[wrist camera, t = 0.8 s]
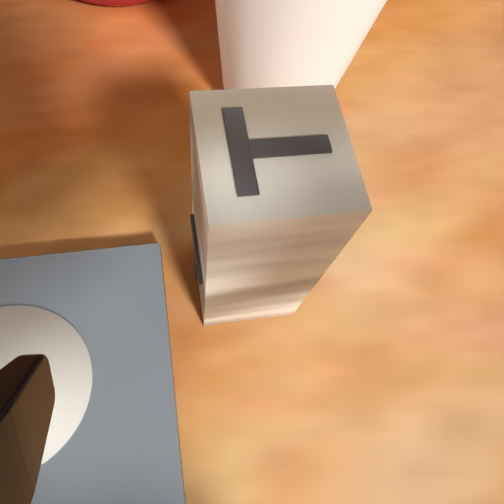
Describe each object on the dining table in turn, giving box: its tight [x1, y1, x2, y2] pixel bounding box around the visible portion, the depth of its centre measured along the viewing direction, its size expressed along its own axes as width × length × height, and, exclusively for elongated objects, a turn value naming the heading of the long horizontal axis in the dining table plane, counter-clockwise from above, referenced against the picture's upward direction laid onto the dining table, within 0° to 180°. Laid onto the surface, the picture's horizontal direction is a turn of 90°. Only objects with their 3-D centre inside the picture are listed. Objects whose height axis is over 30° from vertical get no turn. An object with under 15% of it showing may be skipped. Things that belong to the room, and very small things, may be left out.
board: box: [0, 243, 185, 504], centre depth 18 cm, size 14×12×1 cm
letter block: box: [189, 85, 372, 326], centre depth 17 cm, size 5×5×11 cm
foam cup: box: [215, 0, 387, 89], centre depth 22 cm, size 10×9×13 cm
